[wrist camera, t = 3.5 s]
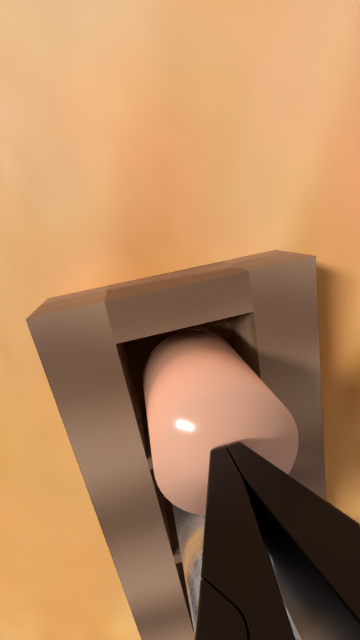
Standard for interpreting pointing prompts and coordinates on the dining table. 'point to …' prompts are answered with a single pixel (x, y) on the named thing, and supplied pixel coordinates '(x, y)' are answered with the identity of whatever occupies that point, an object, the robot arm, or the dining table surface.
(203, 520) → the plug metal mid
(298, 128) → the dining table surface
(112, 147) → the dining table surface
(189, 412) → the peach egg-shaped piece
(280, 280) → the brown wooden tray
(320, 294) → the dining table surface
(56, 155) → the dining table surface
